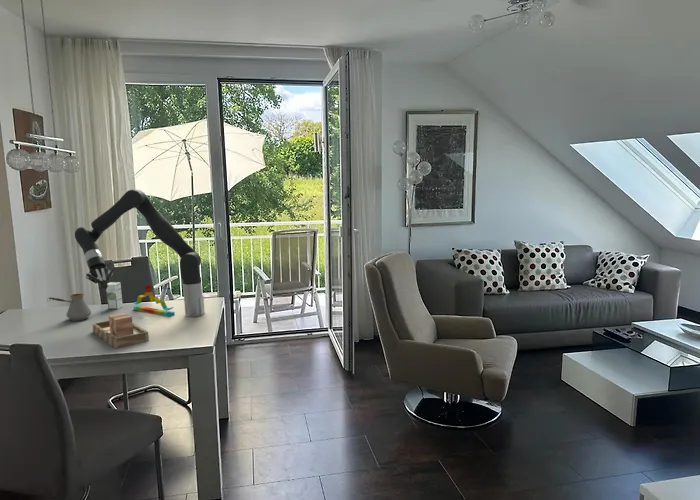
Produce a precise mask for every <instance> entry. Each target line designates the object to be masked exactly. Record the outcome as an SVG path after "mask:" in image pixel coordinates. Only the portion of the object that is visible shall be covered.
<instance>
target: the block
mask: <svg viewBox="0 0 700 500" xmlns="http://www.w3.org/2000/svg"><path fill="white" fill-rule="evenodd" d="M108 321H109V324H110V333H112V334H113V335H114V336H116V337H122V336H126V335H131V334H133V323H134V322H133V317H132V315H130V314H128V313H126V312H121V313H115V314H109V315H108Z"/></svg>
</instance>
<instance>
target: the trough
mask: <svg viewBox="0 0 700 500" xmlns="http://www.w3.org/2000/svg"><path fill="white" fill-rule="evenodd" d="M132 323H133V328H134V329H136V330H137V331H139V332H140V333H138V334H133V335H129V336H124V337H120V338H115V337H114V336H112V335H111V334H110V324H109V320H105V321H100V322H95V323H91V325H92V332H93V333H94V334H95V335H96V336H98V337H99V338H101V339H102V340H103V341H104V342H106V343H107V344H108V345H110V346H111V347H112V348H114V349H118V348H122V347H128V346H131V345H136V344H139V343H143V342H149V340H150V337H149V331H148V330H146V329H144V328H142V327H140V326H139V325H138V324H135V322H132Z"/></svg>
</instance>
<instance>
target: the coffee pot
mask: <svg viewBox="0 0 700 500" xmlns="http://www.w3.org/2000/svg"><path fill="white" fill-rule="evenodd" d="M84 296H85V294H84V293H73V294H70V295H69V297H70V299H71V300H69V299H64V298H63V299H62V298H59V297H58V298H57V297H52V296H51V297H47V302H50V301H58V302H65V303H69V305H68V309H67V312H66V317H67V319H69V320H70V321H73V322H75V321H76V322H77V321H83V320H86V319H88V317H90V316H91V314H92V311H91V309H90V307H89V306H88V305H87V302H86V301H85V299H84V298H83V297H84Z"/></svg>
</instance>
